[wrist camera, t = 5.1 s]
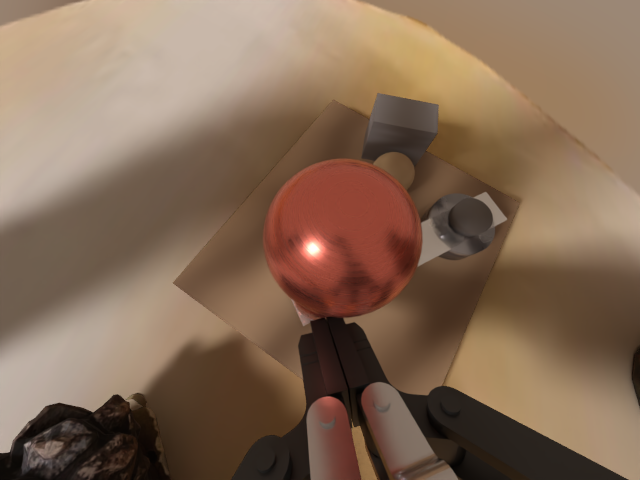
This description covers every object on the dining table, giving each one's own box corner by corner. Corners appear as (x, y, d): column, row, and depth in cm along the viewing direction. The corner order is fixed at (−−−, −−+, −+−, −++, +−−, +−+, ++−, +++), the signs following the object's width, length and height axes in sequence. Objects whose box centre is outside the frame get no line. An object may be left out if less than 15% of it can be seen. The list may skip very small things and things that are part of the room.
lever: (462, 192, 20) (748, -49, 7) (497, 240, 19) (916, 54, 6) (280, 278, 17) (203, 129, 4) (308, 342, 16) (326, 411, 3)
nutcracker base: (186, 287, 19) (134, 270, 13) (332, 115, 25) (340, 53, 19) (398, 444, 16) (447, 507, 11) (502, 211, 22) (569, 173, 17)
